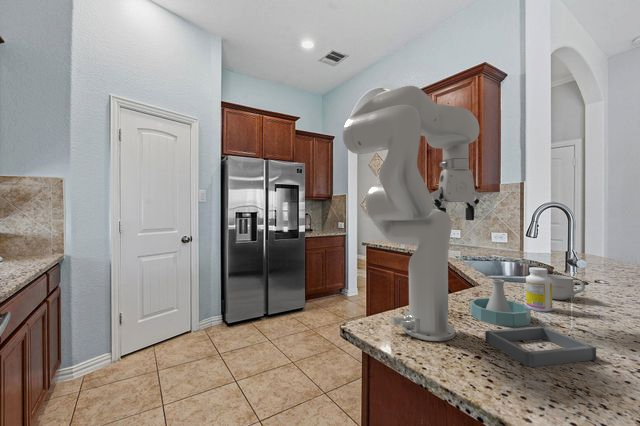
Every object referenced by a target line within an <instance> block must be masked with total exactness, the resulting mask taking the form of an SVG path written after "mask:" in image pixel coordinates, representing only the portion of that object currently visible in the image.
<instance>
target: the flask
mask: <svg viewBox="0 0 640 426" xmlns="http://www.w3.org/2000/svg"><path fill="white" fill-rule="evenodd" d="M491 282H492V283H493V284H492V291H491V295H490V297H489V298H490V299H489V302H488V304H487V307H486V309H489V310H494V311H500V312H511V310H510V307H509V305H508V302H507V299H508V298H507V297H506V294H505V289H504V284H505V280H504V279H501V278H500V279H499V278H498V279H497V278H491ZM511 313H512V312H511Z"/></svg>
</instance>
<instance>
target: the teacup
mask: <svg viewBox="0 0 640 426" xmlns="http://www.w3.org/2000/svg"><path fill="white" fill-rule="evenodd" d="M547 277H549V278H550V279H551V280H552V300H562V301H563V300H568V299H569V298H571V297H574V296H575V295H577V294H581V293H582V292H584V291H585V290H586V285H585V283H584V282H583V281H582V280H579V279H575V278H574V277H571V276H567V275H566V276H565V275H559V274H548V273H547ZM576 284H579V285H580V288H579V289H577V290H574V288H575V285H576Z"/></svg>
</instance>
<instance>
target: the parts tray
mask: <svg viewBox="0 0 640 426" xmlns="http://www.w3.org/2000/svg"><path fill="white" fill-rule="evenodd" d="M484 334H485V337H484V338H485V340H484V342H486V343H487V344H489V345H490V346H492V347H494V348H496V349H498V350H499V351H502V352H503V353H504V354H506V355H508V356H510V357H512V358H513V359H515V360H517V361H518V362H520V363H521V364H523V365H524V366H527V367H529V368H535V367H536V368H537V367H544V366H545V367H546V366H552V365H561V364H569V363H577V362H578V363H579V362H580V363H581V362H587V361H595V360H597V347H596V346H594V345H591V344H589V343H586V342H583V341H581V340H578V339H575V338H573V337H571V336H568V335H566V334H564V333H562V332H558V331H556V330H553V329H551V328H549V327H547V326H543V325H539V326H529V327H527V326H526V327H518V328H517V327H516V328H514V327H513V328H505V329H494V330H485V332H484ZM538 339H540V340H541V339H544V340H547V341H549V342H551V343H553V344H556V345H558V346H559V347H562V348H553V349H542V350H534V351H533V350H532V351H529V350H527V349H525V348H523V347H521V346H519V345H517V344H515V343H514V342H517V341H527V340H528V341H529V340H538Z"/></svg>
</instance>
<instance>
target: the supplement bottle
mask: <svg viewBox="0 0 640 426" xmlns="http://www.w3.org/2000/svg"><path fill="white" fill-rule="evenodd" d="M528 271H529V275H526V277H525V297H526V298H525V299H526V300H525V302H526V304H525V305H526V306H527V307H528V308H529V309H530V310H532V311H536V312H544V313H545V312H552V311H553V299H552V280H551V279H550V278H549V277H547V274H548V271H549V270H548V268H544V267H535V266H532V267H529V269H528Z"/></svg>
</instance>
